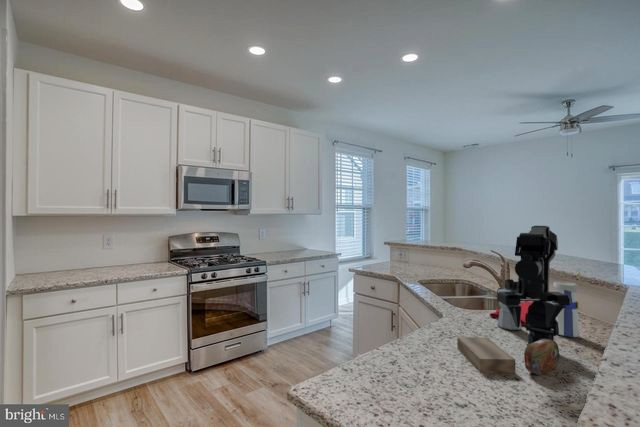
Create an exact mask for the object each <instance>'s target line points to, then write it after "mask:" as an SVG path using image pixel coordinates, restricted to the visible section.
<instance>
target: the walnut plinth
mask: <svg viewBox="0 0 640 427" xmlns="http://www.w3.org/2000/svg"><path fill="white" fill-rule="evenodd" d="M456 340H457V343H456V344H457V346H456V347H457V350H458V351H459V352H460V354H462V355H463V356H464V357H465V359H466V360H468V362H469V363H470V364H471V365H472V366H473V367H474V368H475V369H476V370H477V371H478V372H479V373H482V374H516V359H515V358H514V357H513V356H511V355H510V354H509V353H508V352H506V351H505V350H504V349H503V348H501V347H500V346H499V345H498V344H496V343H495V342H494V341H492V340H491V339H490V338H488V337H480V336H478V337H477V336H476V337H475V336H474V337H472V336H471V337H470V336H468V337H467V336H466V337H464V336H463V337H461V336H459V337H458V336H457V339H456Z"/></svg>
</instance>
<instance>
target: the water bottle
mask: <svg viewBox="0 0 640 427" xmlns="http://www.w3.org/2000/svg"><path fill="white" fill-rule="evenodd" d="M580 275H581V273H580V270H579V269H578V270H577V278H578V280H579V279H581V276H580ZM553 287H554V288H556V292H559V293H562V294H565V295H568V297H569V298H570V305H564V306H566V308H563V309H562V310H561V312H560V313H559V314H558V316H557V317H556V321H557V322H558V326H559V335H560V336H563V337H570V338H571V337H572V338H578V337H580V328H579V311H578V310H579V308H580V302H579V300H578V298H577V295H576V294H578V288H580V286H579V285H578V284H577V283H575V282H571V281H560V280H559V281H557V280H556V281H554V282H553Z"/></svg>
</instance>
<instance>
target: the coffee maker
mask: <svg viewBox="0 0 640 427" xmlns="http://www.w3.org/2000/svg"><path fill="white" fill-rule="evenodd" d="M499 292H511V290H506V289H505V287H498V288H497V290H496V295H497V294H498V293H499ZM515 294H517V295H521V294H518V293H515ZM498 303H499V306H500V308H499V309H500V313H499V319H497V324H496V325H497V326H498V327H499V328H500V329H505V330H510V331H520V330H521V329H523V327H522V326H523V325H521V321H520V325H519V327H516V326H515V323H514V320H513V318H512V315H511V313H510V311H509V309H508V307H507V306H506V305H504V304H502V303H501V302H499V301H498ZM519 306H520V304H519Z"/></svg>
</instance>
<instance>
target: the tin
mask: <svg viewBox="0 0 640 427" xmlns="http://www.w3.org/2000/svg"><path fill="white" fill-rule="evenodd" d="M558 345H559V344H557V342H556V341H555V340H548V339H541V340H539V341H536V342H533V343H531V344H529V345H528V346H527V345H526V347H525V349H524V354H523V356H524V358H523V359H524V367H525V369H526V370H527V372H530V373H531V374H535V375H536V376H543V375H544V374H547V373H548V372H550V371H552V370H554V369H555V368H556V367H557V366H558V364H559V361H560V350H559V346H558Z"/></svg>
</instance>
